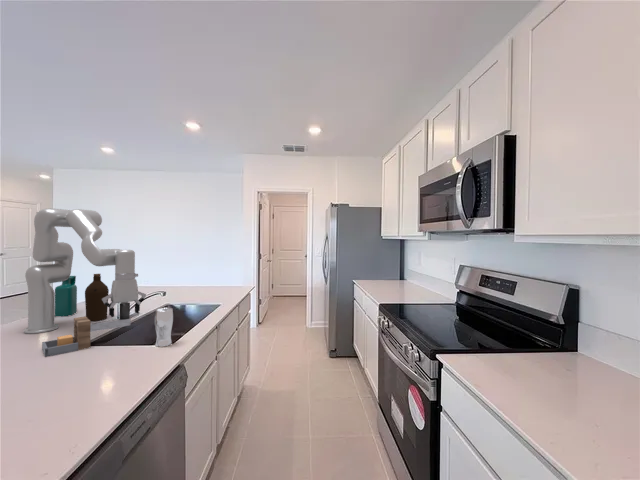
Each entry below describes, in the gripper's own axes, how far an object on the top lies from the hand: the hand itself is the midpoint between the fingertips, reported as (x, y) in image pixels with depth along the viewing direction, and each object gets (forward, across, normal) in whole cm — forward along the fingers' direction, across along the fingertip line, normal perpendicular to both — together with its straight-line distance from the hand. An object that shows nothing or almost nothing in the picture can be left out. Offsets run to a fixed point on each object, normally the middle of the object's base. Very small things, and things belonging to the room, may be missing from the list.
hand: (124, 314), depth 140 cm
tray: (+10, +22, 0) cm, 25 cm away
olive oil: (+10, +2, -45) cm, 46 cm away
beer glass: (+10, -9, +22) cm, 26 cm away
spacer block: (+8, +19, 0) cm, 20 cm away
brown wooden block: (+10, +16, 0) cm, 19 cm away
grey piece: (+5, +7, 0) cm, 9 cm away
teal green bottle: (+10, +12, -69) cm, 71 cm away
